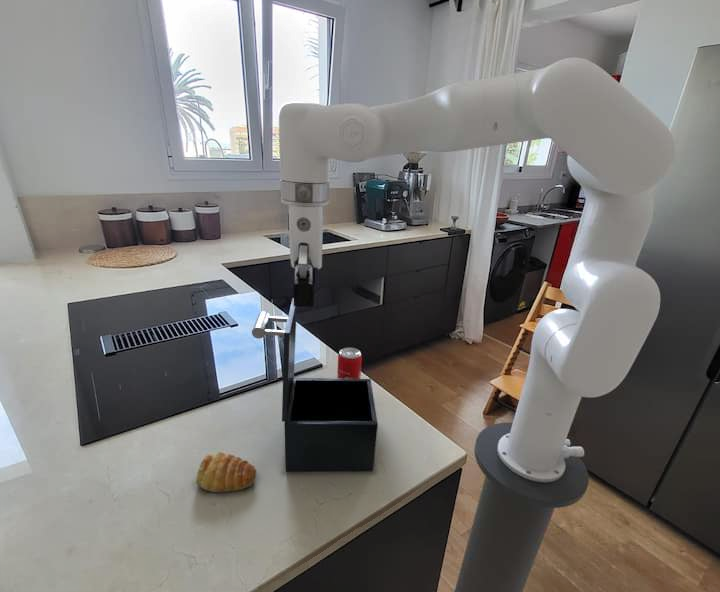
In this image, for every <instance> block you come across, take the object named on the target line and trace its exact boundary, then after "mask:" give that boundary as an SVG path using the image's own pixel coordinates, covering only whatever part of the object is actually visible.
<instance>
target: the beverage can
mask: <svg viewBox="0 0 720 592" xmlns="http://www.w3.org/2000/svg"><path fill="white" fill-rule="evenodd" d="M362 360H363V355H362V352H361V351H360V350H359V349H358V348H355V347H344V348H342V349H340V350H339V353H338V354H337V375H336V379H361V377H362V376H361V374H362Z"/></svg>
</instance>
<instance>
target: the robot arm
mask: <svg viewBox="0 0 720 592" xmlns="http://www.w3.org/2000/svg"><path fill="white" fill-rule="evenodd" d="M545 139H550V140H551V141H552V142H554V143H555V144H556V145H557V146H558V147H559V148H560V149H561V150H562V151H563V152H564V153H565V154H566V155H567V157H566V163H567V164H566V165H567V169H568V171H569V174H570V175H571V177H572V178H573V179H574V180H575V181H576V182H577V183H578V184H579V185H580V187H581V189H582V191H583V194H584V197H585V214H584V215H585V216H584V219H583V222H582V225H581V229H580V232H579V235H578V237H577V239H576V243H575V245H574V248H573V250H572V253H571V255H570V258H569V261H568V263H567V265H566V268H565V269H564V273H563V276H562V278H561V283H560V287H561V292H562V294H563V296H564V298H566V300H567V301H568V302H569V303H570V304H571V306H573V307H574V308H575V309H571V308H570V309H569V308H558V309H556V310H552V311H549V312H548V313H546V314H545V315H544V316H543V317H542V318H540V320H539V321H538V323H537V324H536V326H535V328H534V331H533V334H532V338H531V344H530V356H529V363H528V367H527V372H526V375H525V378H524V382H523V386H522V389H521V392H520V396H519V399H518V404H517V407H516V409H515V414H514V417H513V421H512V423H513V424H512V428H511V431H510V433H509V434H506V435H504V436H503V437H502V438H501V439H500V440H499V443H498V447H497V451H498V455H499V457H500V459H501V460H502V462H503V463H504V464H505V465H506V466H507V467H508V468H509V469H510V470H512V471H513V472H515V473H516V474H518V475H520V476H522V477H524V478H526V479H529V480H532V481H537V482H552V481H555V480H557V479H559V478H560V477H561V476H562V475H563V473H564V471H565V461H564V458H569V456H573V457H580V458H582V457H584V456H585V450H584V448H583V447H582V446H571V443H572V442H571V440H570V439H569V438H568V434H569V432H570V429H571V426H572V425H573V422H574V419H575V415H576V413H577V410H578V408H579V405H580V404H581V403H580V402H581V400H582V398H590V399H591V398H598V397H602V396H604V395H607V394H609V393H611V392H612V391H614V390H615V389H616V388H617V387H618V386H619V385H620V384H621V383H622V382H623V381H624V379H625V378H626V376H627V375H628V374H629V371H630V370H631V368H632V366H633V364H634V363H635V361H636V358H637V357H638V355H639V353H640V351H641V349H642V347H643V346H644V344H645V342H646V340H647V338H648V336H649V334H650V332H651V330H652V328H653V326H654V325H655V322H656V320H657V318H658V315H659V312H660V309H661V292H660V288H659V286H658V284H657V282H656V281H655V279H654V278H653V277H652V276H651V275H650V274H648V273H647V272H646V271H645V270H643V269H641V268H639V267H638V266H637V262H638V258H639V257H640V253H641V251H642V248H643V246H644V243H645V240H646V238H647V235H648V233H649V230H650V229H651V225H652V221H653V216H654V210H655V209H654V208H655V199H654V197H655V196H654V191H653V188H654V187H656V186H657V185H658V184H660V183H661V182H662V181H663V180H664V179H665V178H666V176H668V174H669V172H670V171H671V170H672V168H673V165H674V162H675V158H676V153H677V147H676V146H677V145H676V142H675V141H676V140H675V138H674V135H673V132H671V130H670V128H669V127H668V125H667V124H665V123H664V122H663V121H662V120H661V119H660V118H659V117H658V116H657V115H656V114H655V113H654V112H652V111H651V110H650V109H649V108H648V107H647V106H645V104H643V103H642V102H641V101H640V100H638V99H637V98H636V96H634V95H633V94H632V93H631V92H630V91H629V90H628V89H627V88H626V87H625V86H624V85H622V84H621V83H620V82H619V81H618V80H616V78H614V77H613V76H611V74H609V73H608V72H607V71H605V70H604V69H603V67H601V66H599V65H598V64H597V63H594V62H592V61H590V60H589V59H586V58H582V57H576V56H575V57H567V58H563V59H560V60H558V61H556V62H554V63H551V64H550V65H548V66H546V67H542V68H537V69H533V70H527V71H526V70H525V71H522V72H515V73H511V74H505V75H499V76H494V77H488V78H481V79H473V80H468V81H460V82H455V83H452V84H448V85H445V86H442V87H440V88H438V89H436V90H434V91H432V92H429V93H427V94H425V95H422V96H419V97H415V98H411V99H407V100H403V101H397V102H392V103H387V104H381V105H380V104H379V105H373V106H366V105H365V104H362V103H356V102H351V103H340V104H339V103H338V104H329V105H328V104H325V105H323V104H319V103H314V102H302V101H290V102H288V101H287V102H285V103H283V104H282V105H281V106H280V108H279V109H278V142H279V143H278V144H279V146H278V149H279V177H280V179H279V181H280V183H279V184H280V185H279V186H280V187H279V188H280V203H282V204H285V205H287V206H288V239H289V240H288V241H289V256H290V257H289V258H290V267H292V268H293V269H294V282H293V298H294V306H296V307H297V308H298V307H299V308H313V307H314V305H315V286H316V269H317V270H321V268H322V267H323V239H324V238H323V237H324V236H323V235H324V234H323V231H324V222H323V221H324V217H323V216H324V212H323V207H324V206H327V205H328V206H329V204H330V175H331V174H330V172H331V169H330V167H331V159H333V160H337V161H342V162H346V163H353V164H354V163H357V164H358V163H361V162H365V161H366V160H369V159H370V160H371V159H376V158H382V157H387V156H394V155H402V154H409V153H419V152H437V153H449V152H450V153H451V152H460V151H467V150H473V149H480V148H486V147H493V146H494V147H495V146H500V145H508V144H516V143H523V142H529V141H530V142H531V141H536V140H537V141H538V140H545ZM567 446H569V447H567Z"/></svg>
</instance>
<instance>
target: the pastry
mask: <svg viewBox="0 0 720 592" xmlns="http://www.w3.org/2000/svg"><path fill="white" fill-rule="evenodd" d="M256 475H257V469H256V468H255V466H254V465H253V464H251V463H250V462H249V461H247V460H244V459H242V458H241V457H240V456H235V455H232V454H231V453H228V454H225V453H224V452H218V453H216V454H207V455H205V456H204V458H203V459H202V460H201V462H200V465H199V468H198V471H197V474H196V478H195V479H196V480H195V483H196V485H197V486H198V487H200V488H202V489H203V490H205V491H206V492H213V493H223V492H224V493H228V492H237V491H241V490H244V489H246V488H250V487H251V486H252V485H253V484H254V482H255V480H256Z"/></svg>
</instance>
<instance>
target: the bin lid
mask: <svg viewBox="0 0 720 592" xmlns="http://www.w3.org/2000/svg"><path fill="white" fill-rule="evenodd" d="M290 303H291V304H290V308H289V311H288V315H287V316H273V315H270V314H269V312H267V311H261V312H259V314H258V315H257V318H256V320H255V323H254V324H253V328H252V330H251V335H252V337H254V338H255V339H259V340H260V339H263V338H264V337H265V336H277V337H278V336H279V337H283V365H282V397H281V398H282V399H281V402H282V403H281V405H282V406H281V422H283V423H285V422H287V417H288V411H289V404H290V398H291V392H292V385H293V379H294V378H295V363H296V362H295V361H296V337H297V334H296V333H297V312H298V311H297V309H298V307H296V306H294V297H293V298H292V299H291V302H290ZM270 322H272V323H273V322H275V323H286V324H285V327H284V329H283V330H281V329H267V328H268V325H269V323H270Z"/></svg>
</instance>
